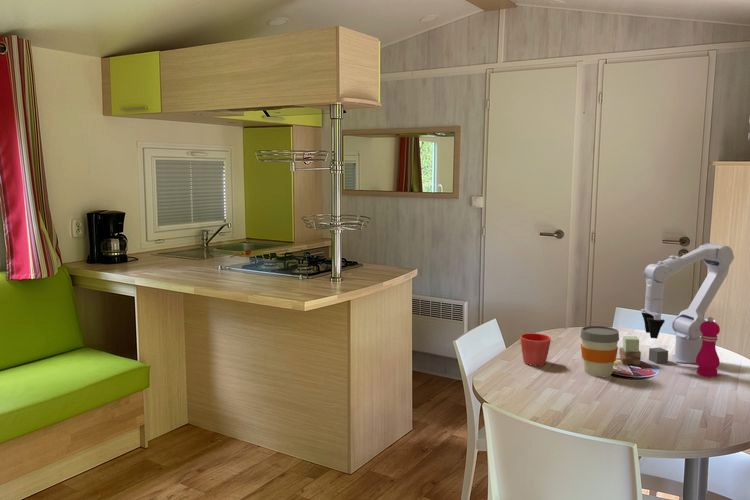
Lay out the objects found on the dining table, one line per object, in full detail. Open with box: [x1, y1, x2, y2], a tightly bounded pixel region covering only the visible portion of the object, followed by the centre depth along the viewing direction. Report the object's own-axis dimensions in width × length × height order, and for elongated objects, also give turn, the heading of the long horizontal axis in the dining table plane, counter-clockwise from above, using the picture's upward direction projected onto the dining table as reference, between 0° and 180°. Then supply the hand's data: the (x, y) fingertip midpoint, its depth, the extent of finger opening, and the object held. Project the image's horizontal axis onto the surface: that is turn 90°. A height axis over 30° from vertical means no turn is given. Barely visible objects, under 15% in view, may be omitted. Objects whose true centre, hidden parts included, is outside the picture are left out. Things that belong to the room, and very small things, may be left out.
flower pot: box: [520, 332, 552, 366], centre depth 230 cm, size 11×11×10 cm
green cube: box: [622, 335, 640, 352], centre depth 230 cm, size 4×4×4 cm
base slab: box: [619, 355, 642, 366], centre depth 231 cm, size 6×6×2 cm
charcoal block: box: [648, 347, 669, 365], centre depth 231 cm, size 4×4×4 cm
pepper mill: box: [695, 316, 721, 378], centre depth 216 cm, size 7×7×20 cm
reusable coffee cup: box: [580, 325, 620, 378], centre depth 219 cm, size 13×13×15 cm
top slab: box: [618, 347, 642, 360], centre depth 230 cm, size 6×6×2 cm
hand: (651, 335), depth 228 cm, fingers open, 7 cm apart
